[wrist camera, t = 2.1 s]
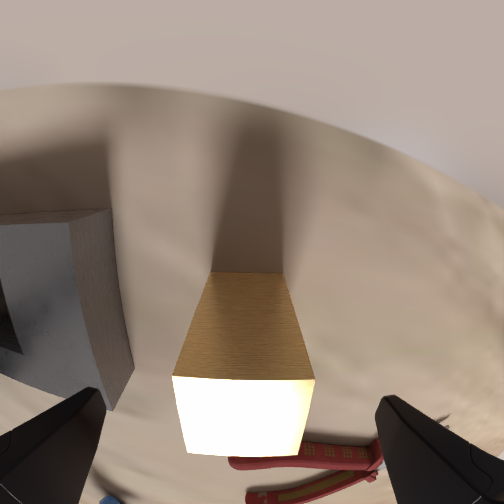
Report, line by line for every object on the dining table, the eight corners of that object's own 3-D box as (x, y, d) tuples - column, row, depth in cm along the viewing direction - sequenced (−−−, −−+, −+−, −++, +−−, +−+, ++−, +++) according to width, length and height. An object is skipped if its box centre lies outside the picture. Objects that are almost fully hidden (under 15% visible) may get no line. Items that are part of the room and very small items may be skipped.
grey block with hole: (134, 369, 16) (112, 411, 12) (-13, 331, 16) (-39, 352, 12) (111, 208, 13) (68, 222, 9) (-38, 219, 13) (-72, 230, 9)
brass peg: (278, 334, 15) (297, 455, 8) (212, 333, 15) (188, 452, 7) (282, 273, 14) (315, 379, 7) (210, 271, 14) (171, 375, 7)
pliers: (424, 455, 21) (432, 471, 18) (246, 494, 21) (246, 513, 19) (455, 387, 18) (469, 404, 15) (226, 437, 19) (224, 463, 16)
